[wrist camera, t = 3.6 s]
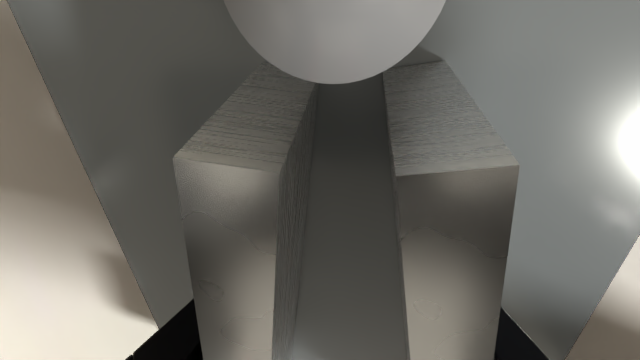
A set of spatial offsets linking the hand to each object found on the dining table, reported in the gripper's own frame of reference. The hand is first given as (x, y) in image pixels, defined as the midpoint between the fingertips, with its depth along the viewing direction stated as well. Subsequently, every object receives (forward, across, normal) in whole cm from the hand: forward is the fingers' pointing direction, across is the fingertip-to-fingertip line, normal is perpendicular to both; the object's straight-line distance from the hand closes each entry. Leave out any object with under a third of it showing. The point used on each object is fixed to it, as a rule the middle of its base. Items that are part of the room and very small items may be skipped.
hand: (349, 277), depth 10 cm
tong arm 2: (0, +3, +1) cm, 3 cm away
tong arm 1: (+1, -3, +1) cm, 3 cm away
